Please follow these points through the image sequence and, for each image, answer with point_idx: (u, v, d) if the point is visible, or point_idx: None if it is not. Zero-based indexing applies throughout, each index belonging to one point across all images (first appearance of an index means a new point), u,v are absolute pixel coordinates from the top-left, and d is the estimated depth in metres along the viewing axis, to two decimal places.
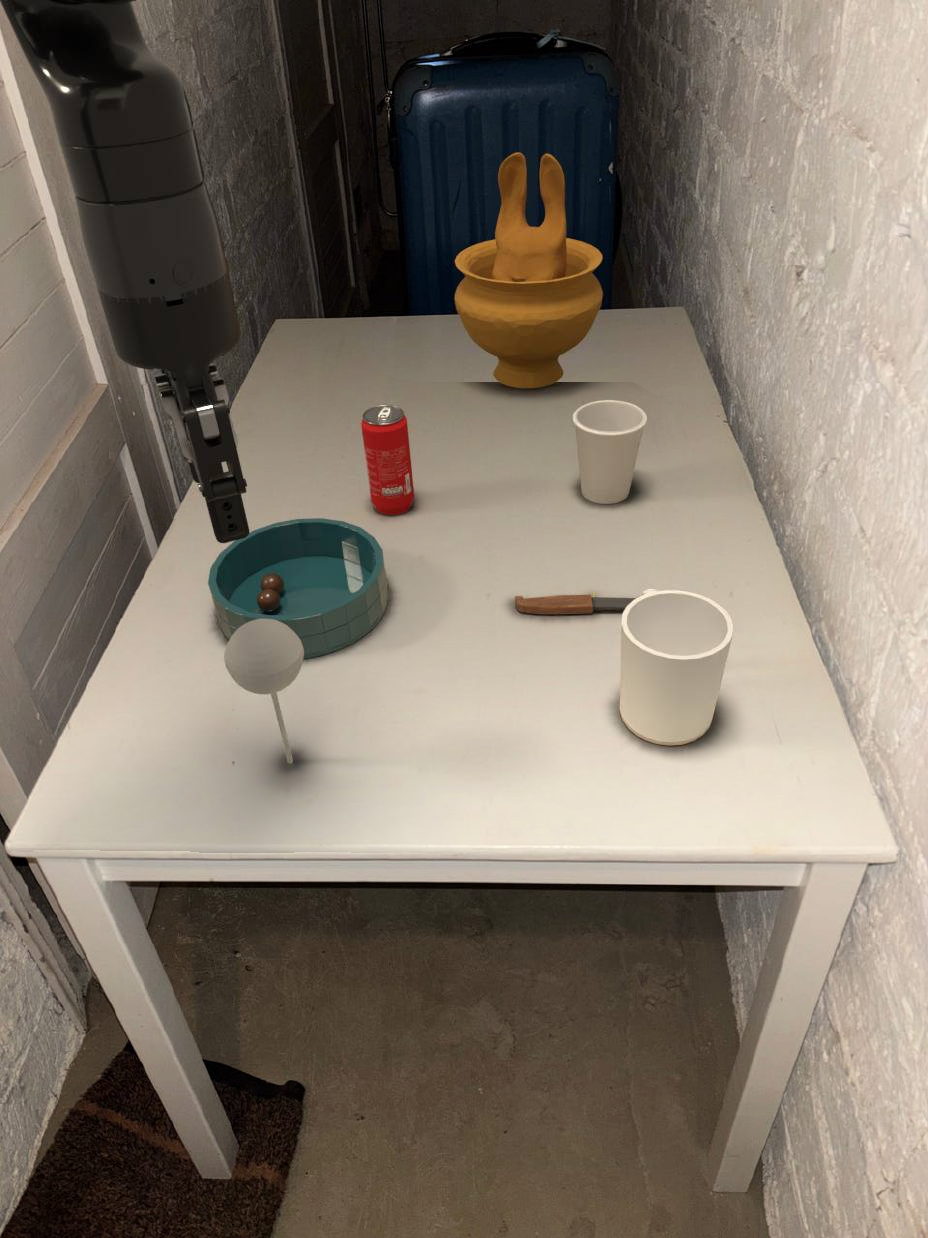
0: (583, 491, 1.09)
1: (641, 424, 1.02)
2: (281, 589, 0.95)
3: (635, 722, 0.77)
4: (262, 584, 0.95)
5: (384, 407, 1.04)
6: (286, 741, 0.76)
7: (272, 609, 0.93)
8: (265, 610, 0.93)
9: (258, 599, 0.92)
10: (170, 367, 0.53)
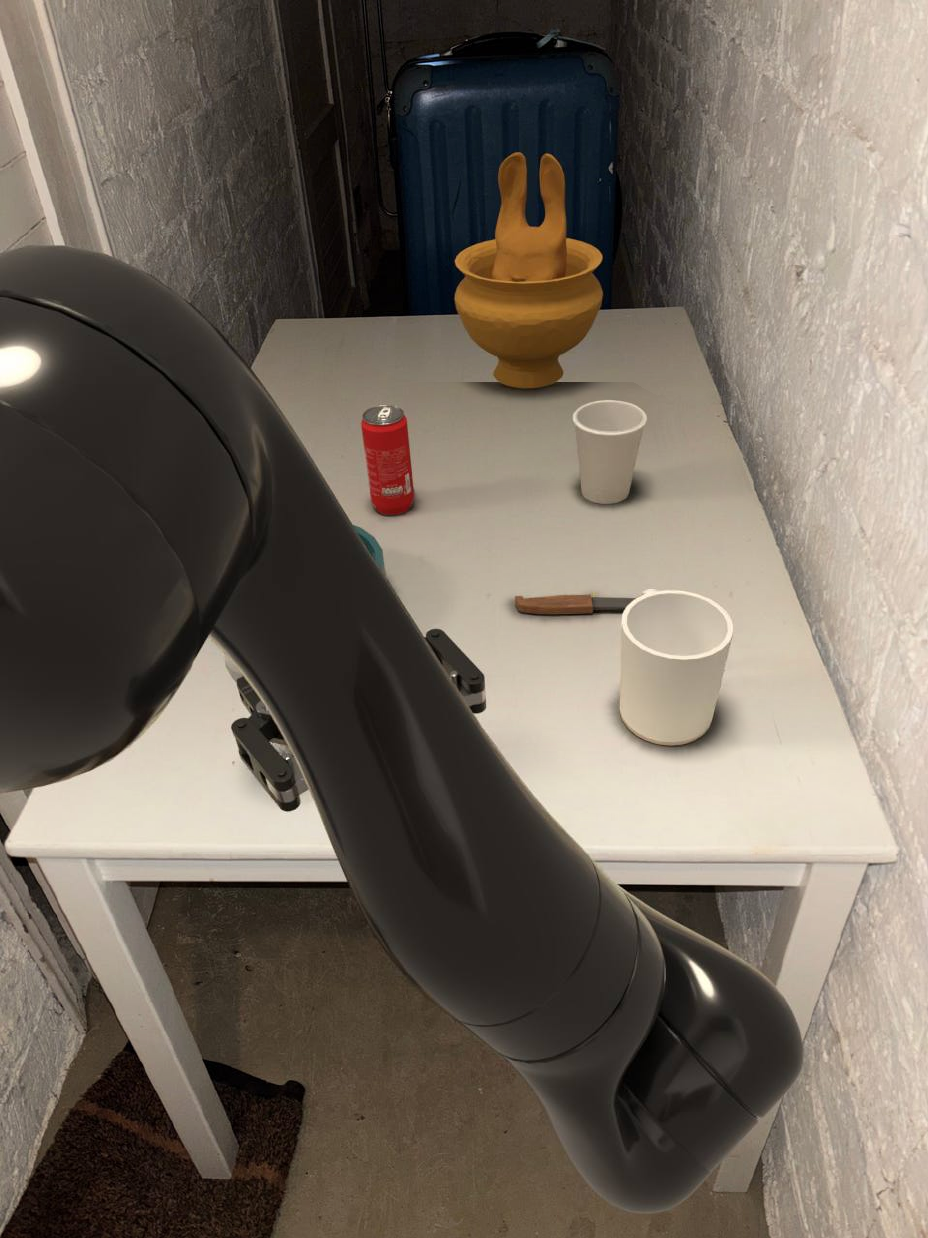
0: (583, 491, 1.09)
1: (641, 424, 1.02)
2: None
3: (635, 722, 0.77)
4: None
5: (384, 407, 1.04)
6: None
7: None
8: None
9: None
10: None
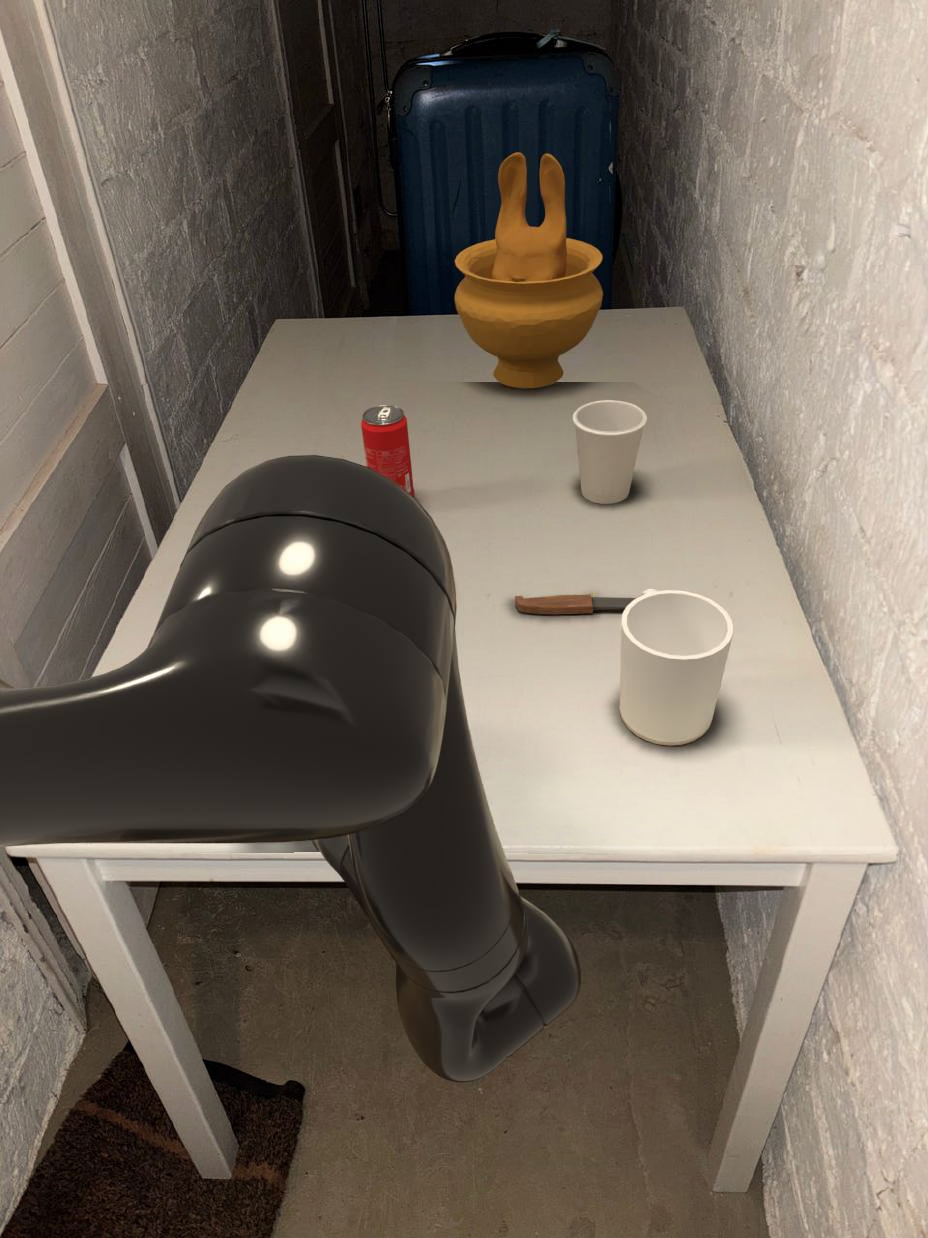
0: (583, 491, 1.09)
1: (641, 424, 1.02)
2: None
3: (635, 722, 0.77)
4: None
5: (384, 407, 1.04)
6: None
7: None
8: None
9: None
10: None
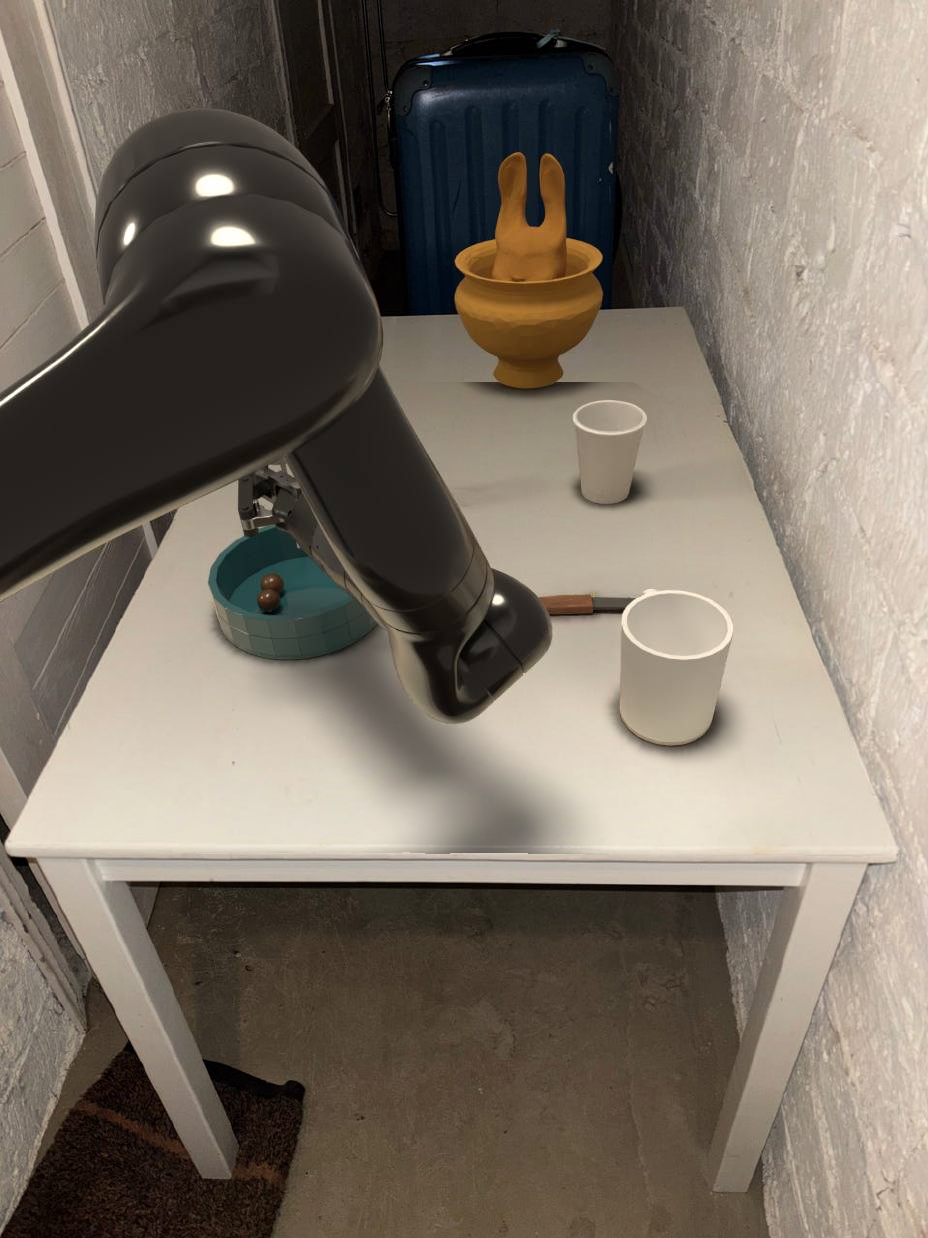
0: (583, 491, 1.09)
1: (641, 424, 1.02)
2: (281, 589, 0.95)
3: (635, 722, 0.77)
4: (262, 584, 0.95)
5: None
6: None
7: (272, 609, 0.93)
8: (265, 610, 0.93)
9: (258, 599, 0.92)
10: (290, 517, 0.72)
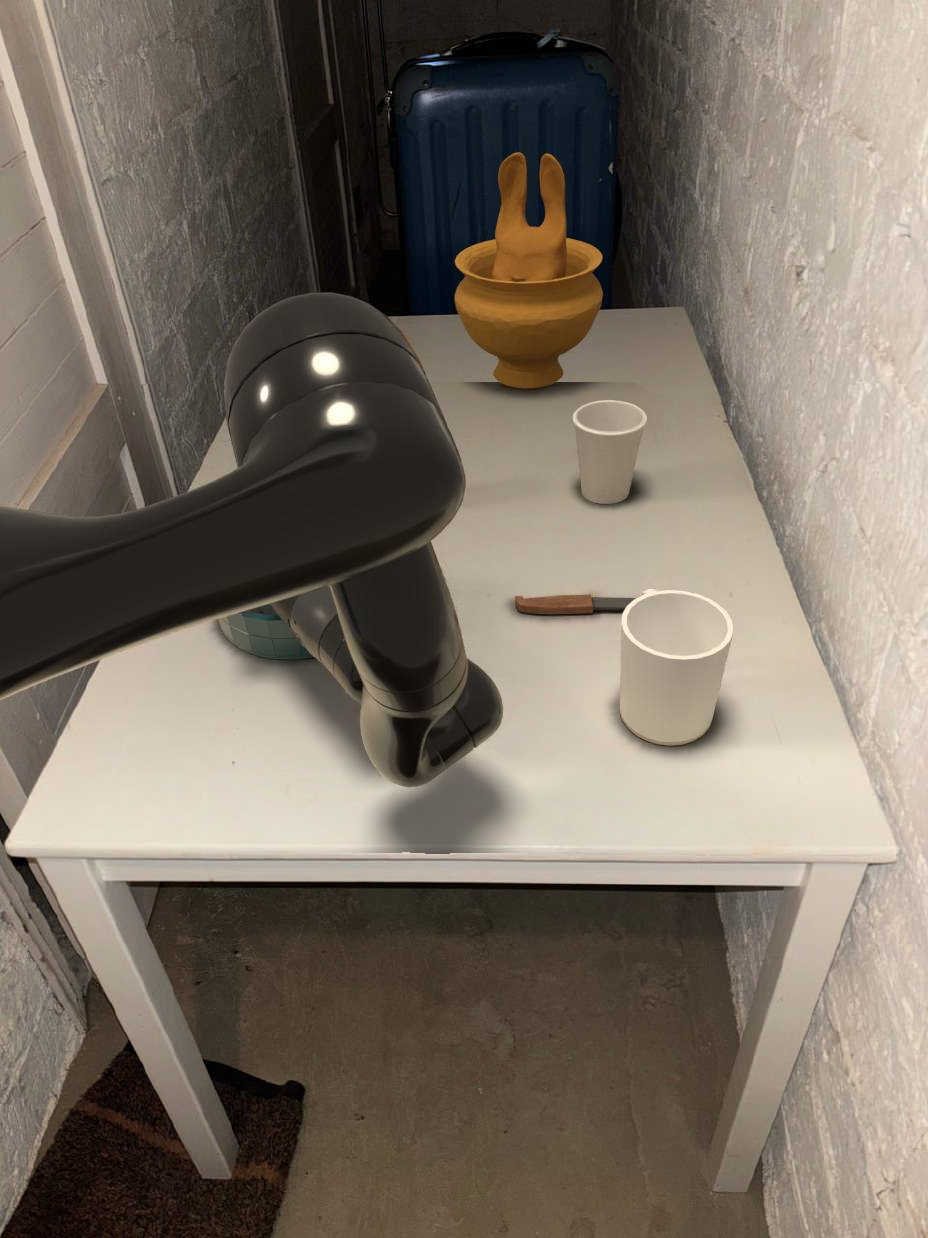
0: (583, 491, 1.09)
1: (641, 424, 1.02)
2: None
3: (635, 722, 0.77)
4: None
5: None
6: None
7: None
8: None
9: None
10: None
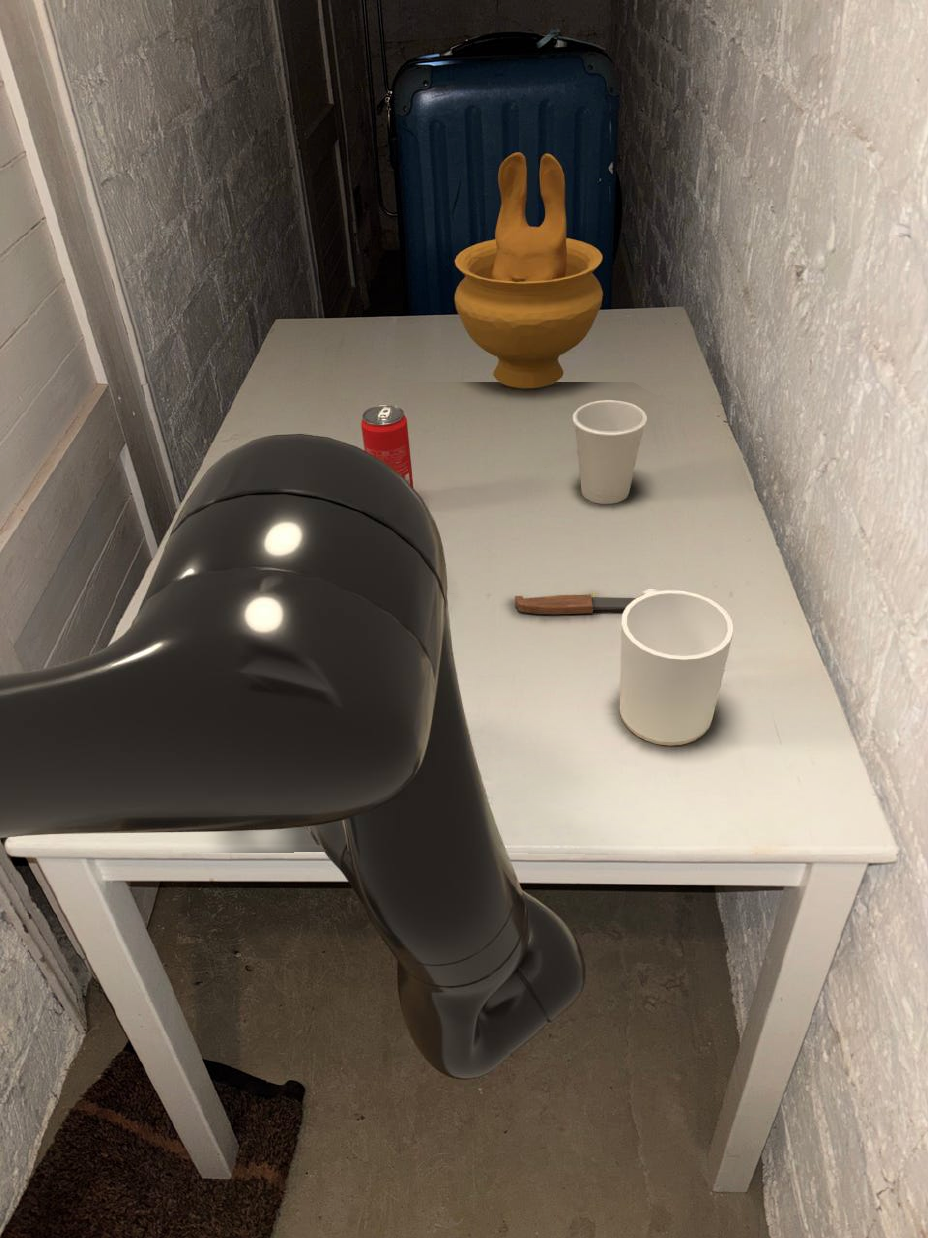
0: (583, 491, 1.09)
1: (641, 424, 1.02)
2: None
3: (635, 722, 0.77)
4: None
5: (384, 407, 1.04)
6: None
7: None
8: None
9: None
10: None
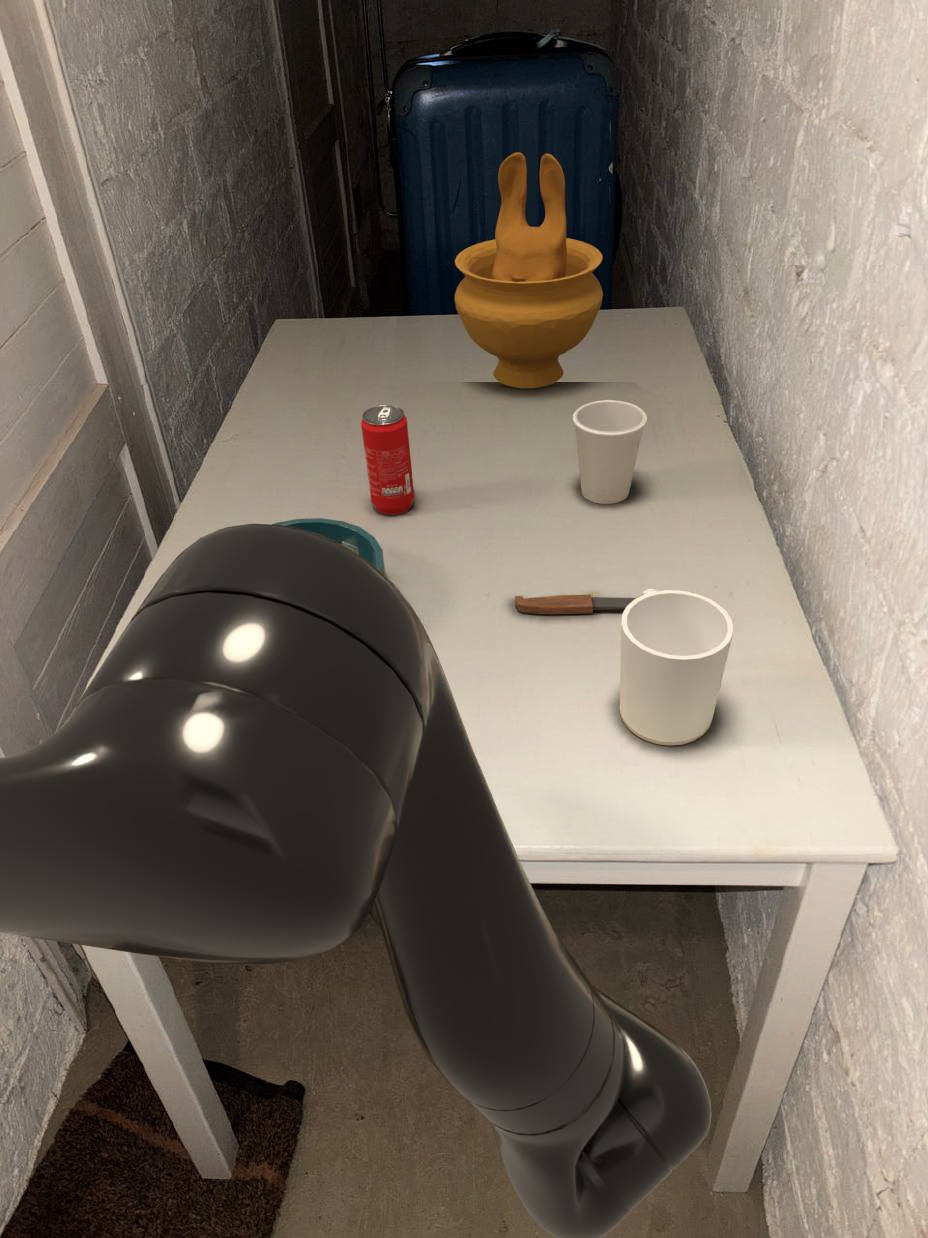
0: (583, 491, 1.09)
1: (641, 424, 1.02)
2: None
3: (635, 722, 0.77)
4: None
5: (384, 407, 1.04)
6: None
7: None
8: None
9: None
10: None
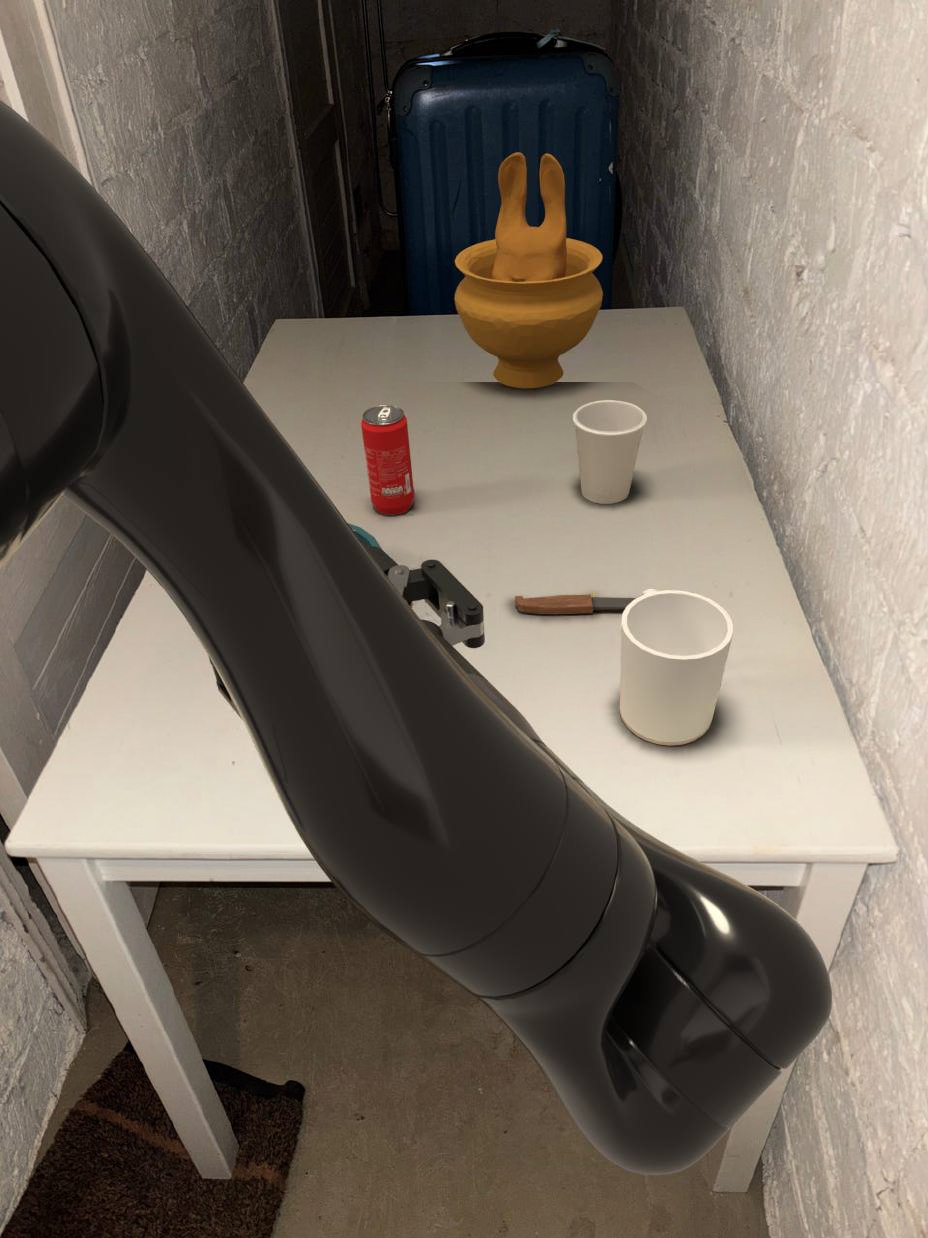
0: (583, 491, 1.09)
1: (641, 424, 1.02)
2: None
3: (635, 722, 0.77)
4: None
5: (384, 407, 1.04)
6: None
7: None
8: None
9: None
10: None
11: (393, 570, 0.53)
